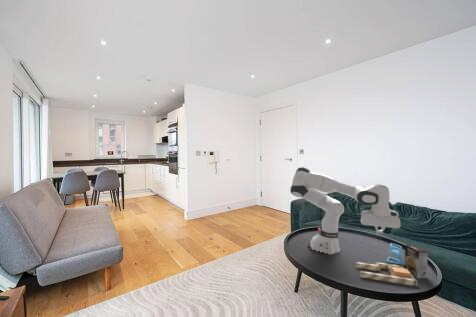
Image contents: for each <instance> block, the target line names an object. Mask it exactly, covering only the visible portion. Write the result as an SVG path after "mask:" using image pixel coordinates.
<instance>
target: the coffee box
mask: <svg viewBox="0 0 476 317" xmlns="http://www.w3.org/2000/svg"><path fill="white" fill-rule="evenodd" d="M404 247H405V248H404V267H403V268H404V269H407V270H408V271H409V272H410V273H411V274H412V276H413V277H414V278H415V279H427V278H428V277H427V276H428V264H429V263H428V258H429V251H428V250H426V249H424V248H423V247H421V246H418V245H416V244H405V245H404Z"/></svg>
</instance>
